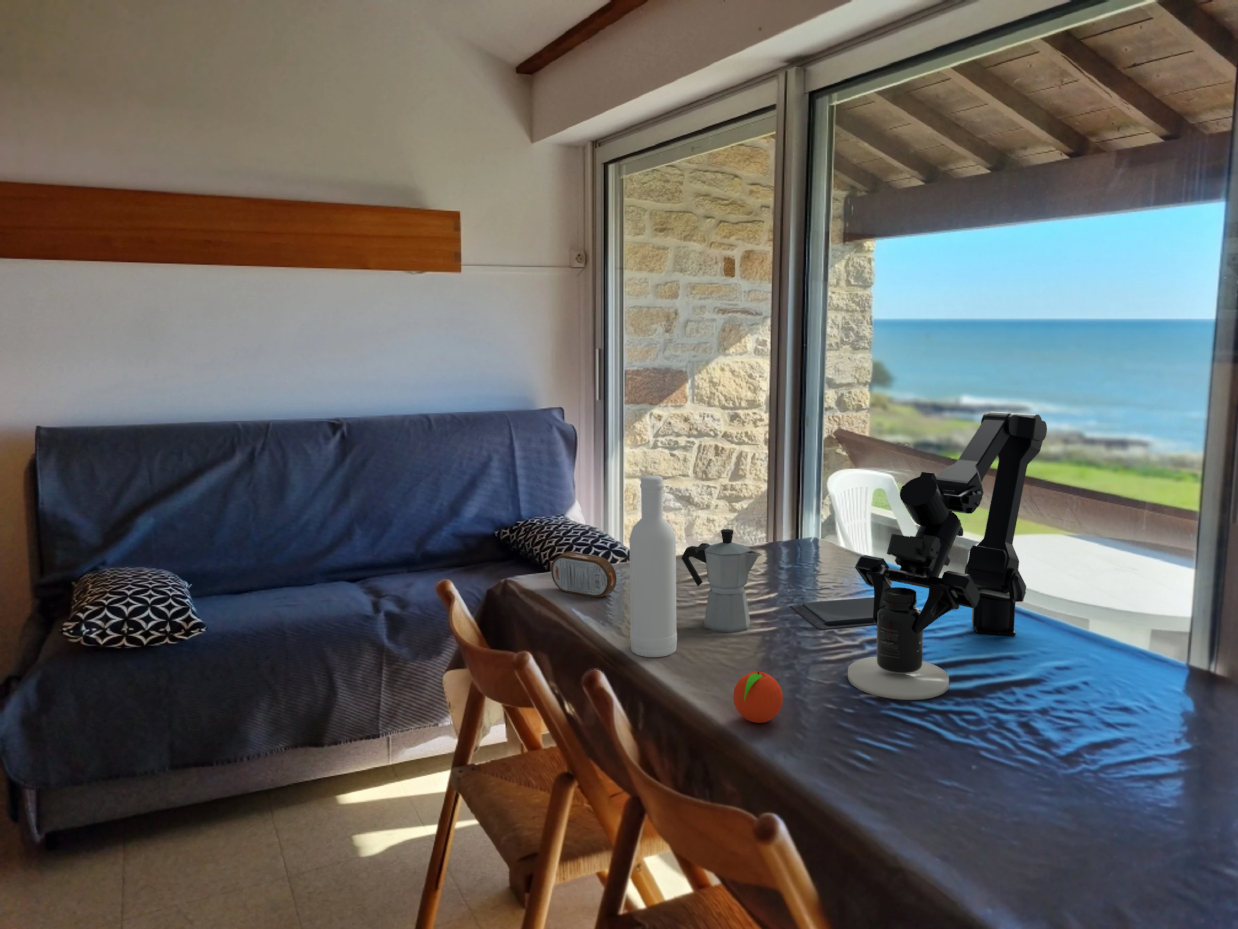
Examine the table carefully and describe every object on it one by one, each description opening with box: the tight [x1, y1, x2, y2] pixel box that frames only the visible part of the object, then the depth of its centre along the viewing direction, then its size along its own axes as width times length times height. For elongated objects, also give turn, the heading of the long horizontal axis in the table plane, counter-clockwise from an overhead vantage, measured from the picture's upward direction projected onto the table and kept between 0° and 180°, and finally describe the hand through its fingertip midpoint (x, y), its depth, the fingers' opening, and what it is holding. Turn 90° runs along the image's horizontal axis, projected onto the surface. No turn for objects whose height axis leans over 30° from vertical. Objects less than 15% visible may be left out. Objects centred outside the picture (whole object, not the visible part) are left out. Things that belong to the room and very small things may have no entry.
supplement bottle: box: [876, 586, 924, 673], centre depth 145 cm, size 7×7×12 cm
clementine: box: [732, 671, 784, 724], centre depth 132 cm, size 8×7×7 cm
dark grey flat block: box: [789, 597, 877, 631], centre depth 180 cm, size 20×2×15 cm
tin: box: [550, 551, 618, 599], centre depth 195 cm, size 15×3×8 cm, turn 58°
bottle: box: [629, 474, 678, 658], centre depth 160 cm, size 8×8×30 cm
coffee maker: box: [680, 528, 762, 634], centre depth 173 cm, size 15×9×18 cm, turn 71°
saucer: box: [847, 656, 950, 701], centre depth 146 cm, size 15×15×1 cm
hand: (895, 626), depth 144 cm, fingers closed on supplement bottle, 7 cm apart
